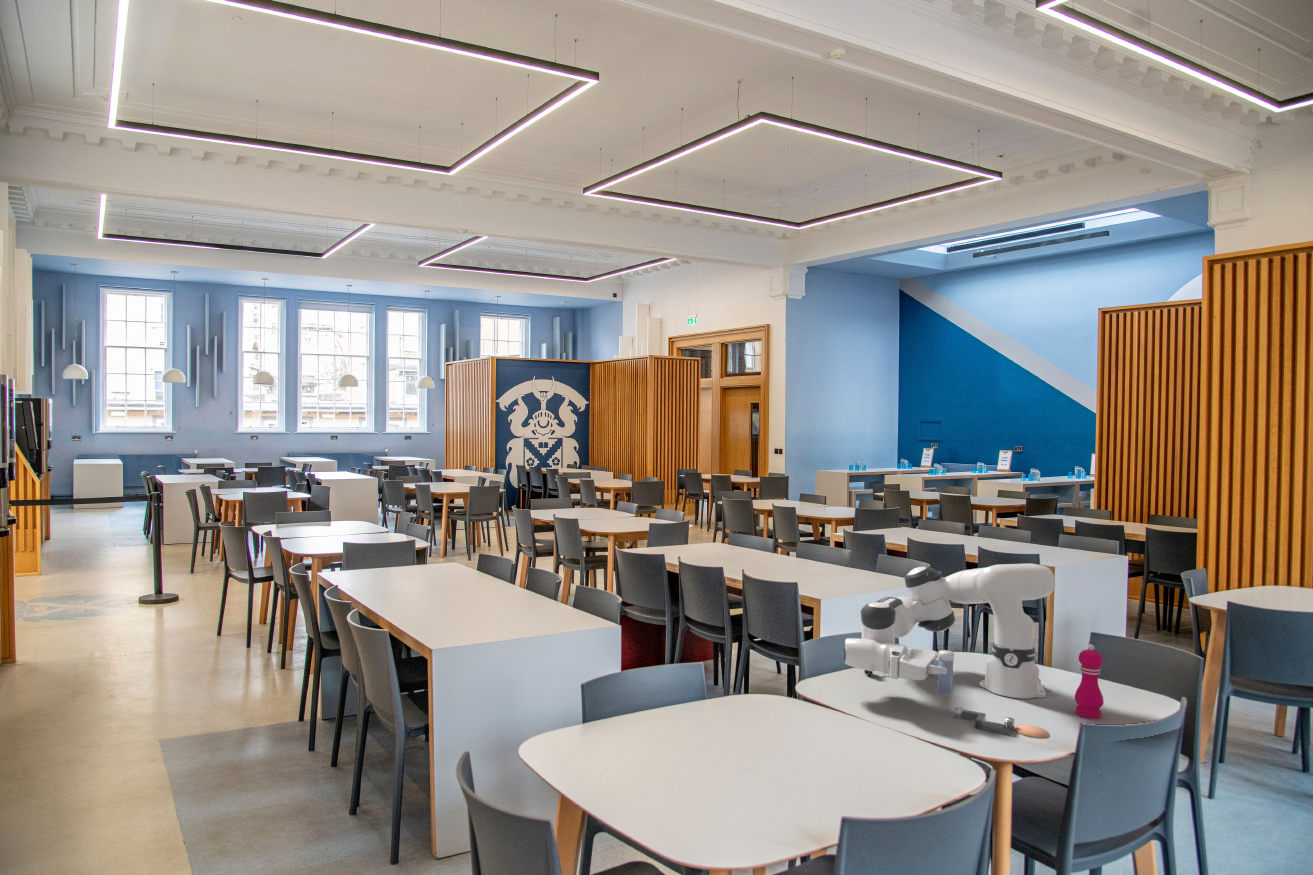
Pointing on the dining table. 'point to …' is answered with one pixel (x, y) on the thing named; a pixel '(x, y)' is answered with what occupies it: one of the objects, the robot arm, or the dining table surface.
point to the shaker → (947, 679)
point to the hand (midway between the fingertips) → (949, 668)
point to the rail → (983, 724)
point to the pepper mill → (1089, 685)
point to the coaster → (1031, 731)
